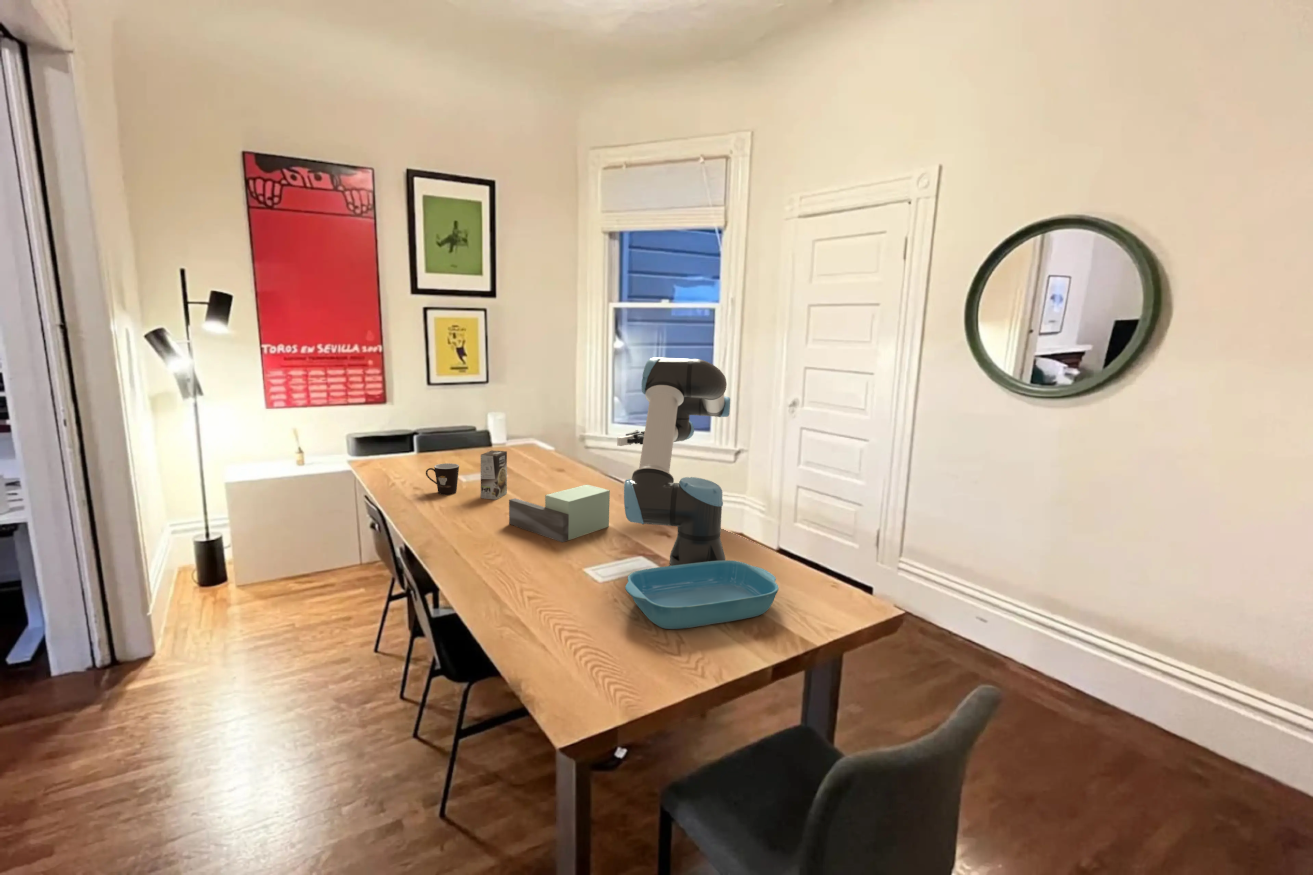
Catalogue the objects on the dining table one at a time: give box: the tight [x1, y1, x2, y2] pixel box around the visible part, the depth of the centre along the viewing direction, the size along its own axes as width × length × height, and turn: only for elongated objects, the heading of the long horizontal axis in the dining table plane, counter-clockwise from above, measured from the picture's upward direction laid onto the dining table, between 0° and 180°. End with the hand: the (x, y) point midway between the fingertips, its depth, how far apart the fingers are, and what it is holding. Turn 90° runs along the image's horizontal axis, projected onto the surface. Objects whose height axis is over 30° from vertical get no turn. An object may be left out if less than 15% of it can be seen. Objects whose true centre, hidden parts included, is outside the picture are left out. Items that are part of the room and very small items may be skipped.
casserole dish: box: [624, 559, 780, 630], centre depth 146 cm, size 37×22×7 cm, turn 114°
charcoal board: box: [508, 497, 569, 543], centre depth 193 cm, size 2×24×8 cm, turn 52°
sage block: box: [544, 484, 611, 541], centre depth 197 cm, size 18×10×12 cm, turn 142°
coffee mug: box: [425, 463, 460, 496], centre depth 233 cm, size 12×9×10 cm
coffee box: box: [480, 449, 508, 501], centre depth 229 cm, size 9×6×16 cm
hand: (619, 441), depth 208 cm, fingers closed
